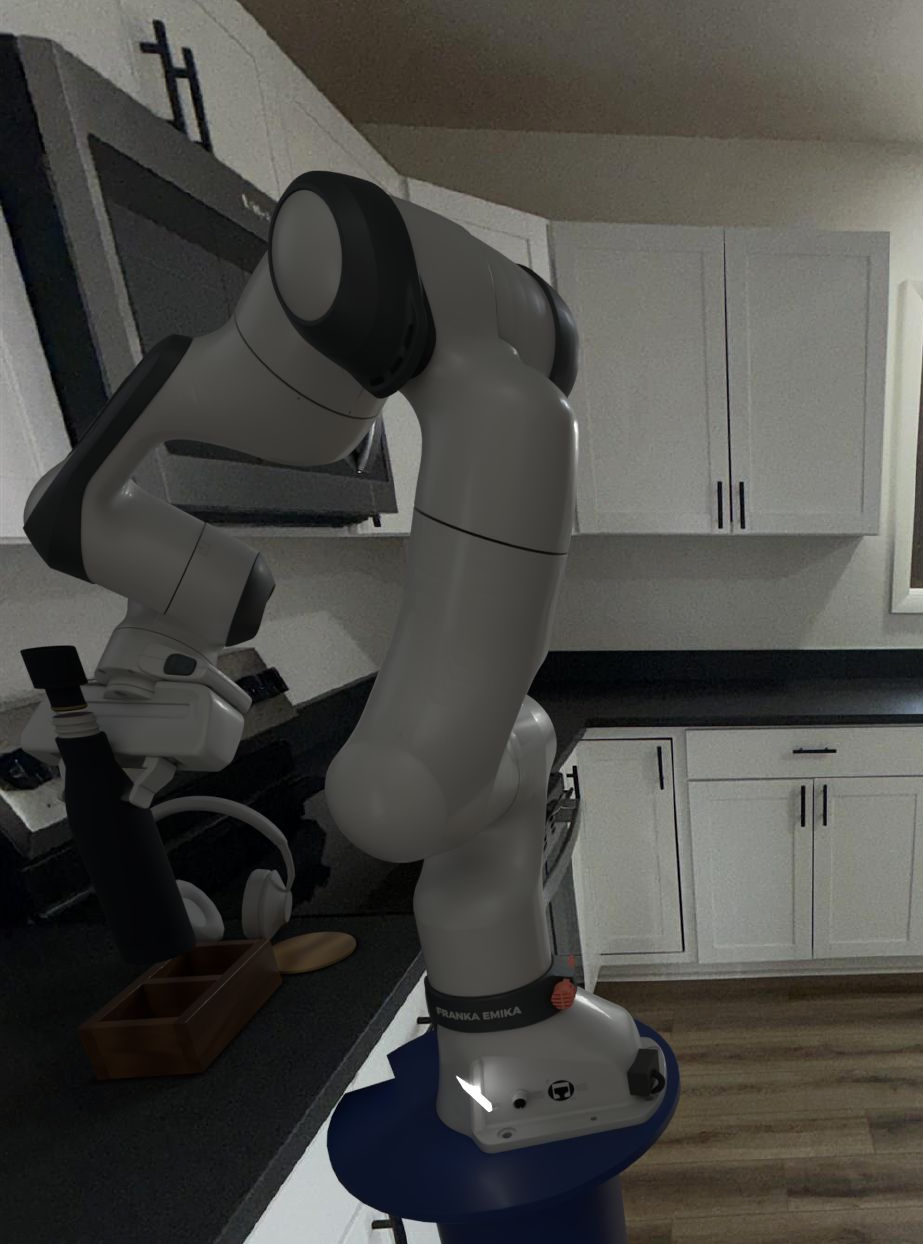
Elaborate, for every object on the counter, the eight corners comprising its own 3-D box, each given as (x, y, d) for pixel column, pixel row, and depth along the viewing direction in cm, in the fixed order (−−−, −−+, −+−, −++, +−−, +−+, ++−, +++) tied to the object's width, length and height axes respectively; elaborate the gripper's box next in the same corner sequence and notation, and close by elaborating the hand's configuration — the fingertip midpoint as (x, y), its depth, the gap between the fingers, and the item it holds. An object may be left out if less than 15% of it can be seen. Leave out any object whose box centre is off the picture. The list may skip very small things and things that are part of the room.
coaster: (368, 932, 116) (367, 929, 115) (337, 971, 106) (337, 968, 105) (282, 936, 114) (281, 934, 114) (243, 976, 104) (242, 973, 104)
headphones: (137, 970, 106) (81, 816, 98) (163, 939, 114) (112, 794, 106) (305, 949, 111) (265, 801, 103) (318, 920, 119) (282, 781, 111)
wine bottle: (120, 971, 83) (-6, 655, 71) (123, 947, 88) (5, 647, 76) (198, 953, 87) (90, 648, 74) (196, 931, 92) (95, 641, 79)
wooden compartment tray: (282, 982, 103) (269, 938, 101) (203, 1073, 86) (185, 1022, 84) (195, 987, 102) (180, 942, 99) (97, 1080, 85) (76, 1029, 83)
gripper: (33, 659, 84) (-27, 784, 79) (222, 662, 81) (171, 792, 76) (90, 696, 89) (37, 815, 85) (267, 700, 87) (223, 823, 82)
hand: (102, 804), depth 80 cm, fingers closed on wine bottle, 5 cm apart
